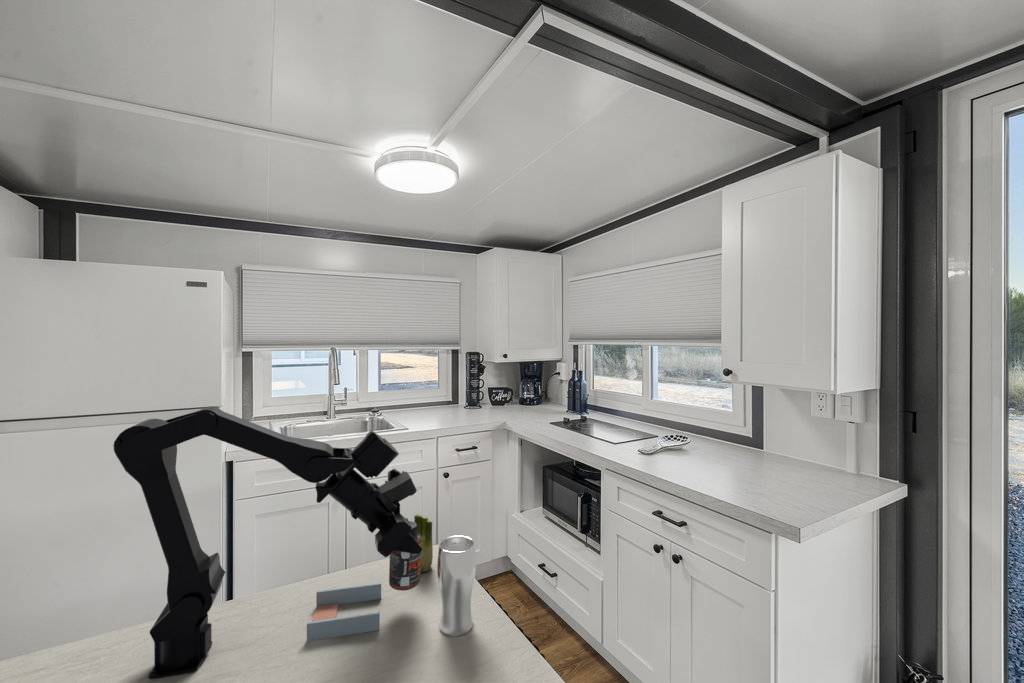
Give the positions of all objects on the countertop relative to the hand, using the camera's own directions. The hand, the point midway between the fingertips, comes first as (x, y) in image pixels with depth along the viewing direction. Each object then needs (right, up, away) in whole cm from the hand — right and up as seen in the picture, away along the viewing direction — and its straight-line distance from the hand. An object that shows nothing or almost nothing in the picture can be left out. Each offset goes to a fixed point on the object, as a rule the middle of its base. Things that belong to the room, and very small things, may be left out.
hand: (416, 544), depth 85 cm
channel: (-12, -12, -3) cm, 18 cm away
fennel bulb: (-2, -12, +14) cm, 19 cm away
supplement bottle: (-2, -7, -1) cm, 8 cm away
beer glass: (+8, -13, -5) cm, 16 cm away
